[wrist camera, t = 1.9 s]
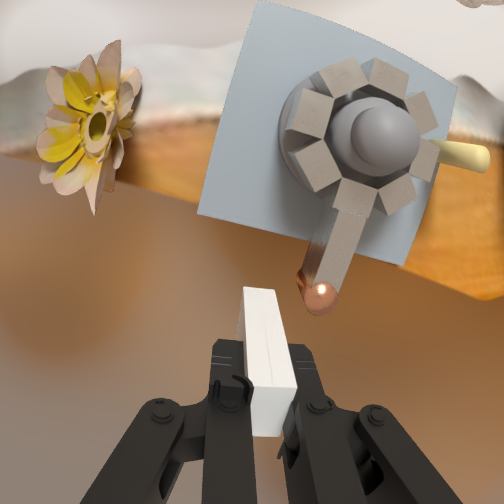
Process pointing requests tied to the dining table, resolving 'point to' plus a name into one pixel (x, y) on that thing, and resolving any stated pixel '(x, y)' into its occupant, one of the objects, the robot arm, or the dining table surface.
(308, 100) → the grey gear lever
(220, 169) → the base
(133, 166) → the dining table surface
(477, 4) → the jar
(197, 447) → the robot arm
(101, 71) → the decorative flower
